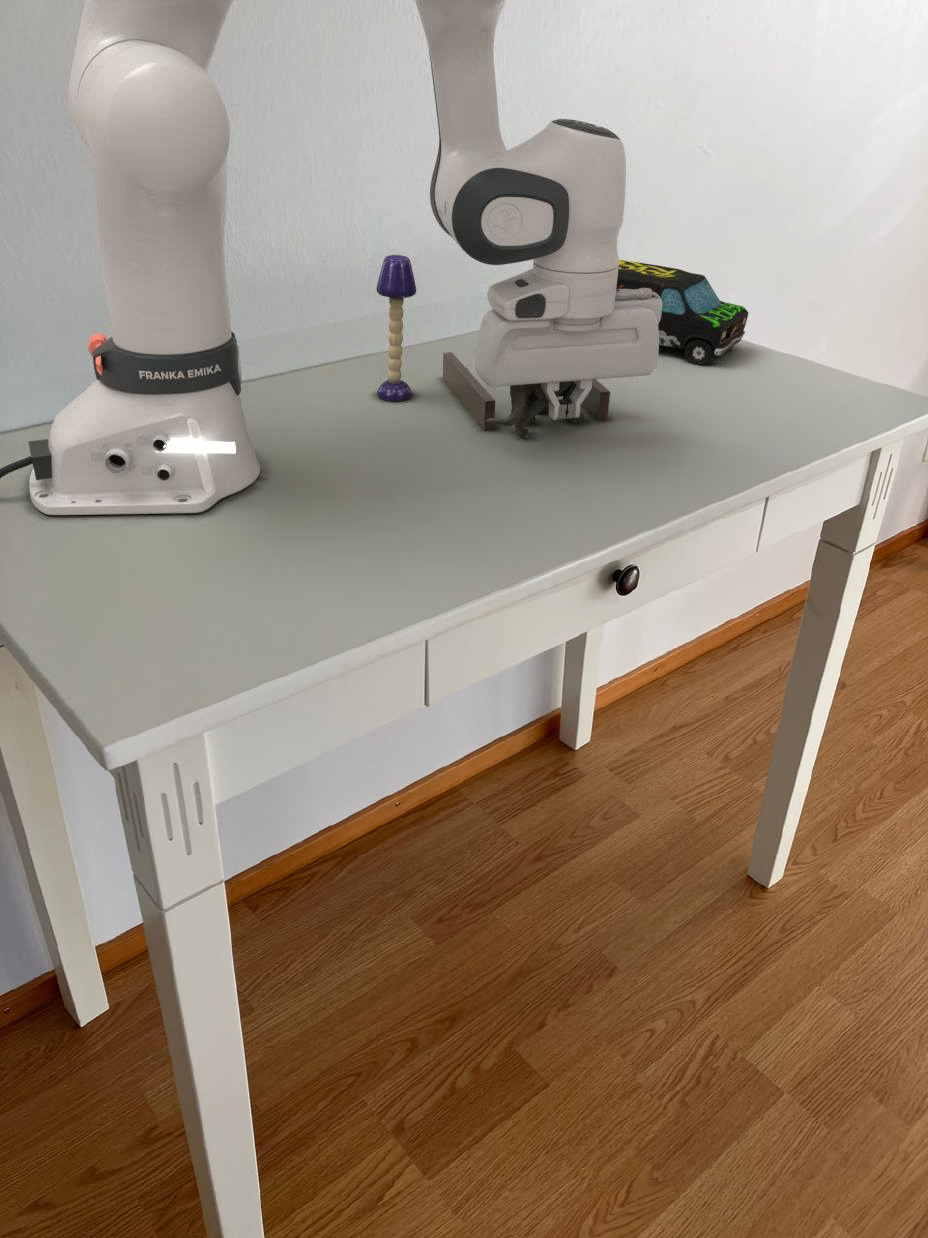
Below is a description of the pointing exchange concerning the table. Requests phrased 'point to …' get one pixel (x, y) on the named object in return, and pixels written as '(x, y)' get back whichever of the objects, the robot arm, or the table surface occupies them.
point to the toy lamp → (395, 321)
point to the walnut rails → (484, 404)
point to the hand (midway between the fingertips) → (563, 417)
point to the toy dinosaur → (532, 405)
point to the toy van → (687, 310)
